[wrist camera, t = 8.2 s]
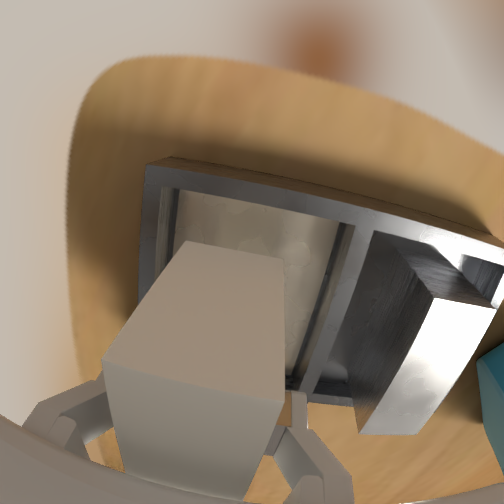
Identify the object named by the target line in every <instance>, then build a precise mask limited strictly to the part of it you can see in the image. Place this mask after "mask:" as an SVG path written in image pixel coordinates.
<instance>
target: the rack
mask: <svg viewBox="0 0 504 504" xmlns="http://www.w3.org/2000/svg"><path fill="white" fill-rule="evenodd" d="M185 241H191V242H197V243H202V244H207V245H212V246H217V247H222V248H228V249H233V250H238V251H243V252H248V253H254V254H259V255H264V256H269V257H274V258H279V259H283V264H284V319H285V390H290V391H298V392H305V393H306V396H307V404H308V402H313V403H321V404H330V405H340V406H350V407H354V411H355V416H356V422H357V428H358V433H359V434H370V435H416V434H417V433H418V432H419V431H420V429H421V428H422V427H423V426H424V424H425V423H426V422H427V420H428V419H429V418H430V417H431V415H432V414H433V413H435V411H436V410H437V409H438V407H439V406H440V404H441V403H442V402H443V400H444V399H445V397H446V396H447V395H448V393H449V392H450V390H451V389H452V387H453V386H454V384H455V383H456V381H457V380H458V378H459V377H460V375H461V374H462V372H463V371H464V369H465V367H466V366H467V364H468V362H469V361H470V359H471V358H472V356H473V354H474V353H475V351H476V349H477V347H478V346H479V344H480V342H481V340H482V339H483V337H484V335H485V333H486V331H487V329H488V328H489V326H490V324H491V322H492V320H493V318H494V316H495V314H496V312H497V310H498V308H499V306H500V304H501V302H502V300H503V297H504V243H503V242H502V241H501V240H499V239H498V238H496V237H495V236H493V235H490V234H488V233H485V232H482V231H479V230H476V229H473V228H470V227H467V226H464V225H461V224H458V223H455V222H452V221H449V220H446V219H442V218H439V217H436V216H433V215H430V214H426V213H423V212H420V211H416V210H413V209H409V208H406V207H402V206H399V205H395V204H392V203H388V202H385V201H381V200H377V199H373V198H370V197H366V196H362V195H358V194H354V193H350V192H346V191H342V190H338V189H334V188H330V187H326V186H322V185H317V184H313V183H309V182H304V181H300V180H295V179H290V178H286V177H281V176H276V175H271V174H267V173H262V172H256V171H251V170H246V169H241V168H235V167H230V166H224V165H219V164H213V163H207V162H201V161H195V160H188V159H182V158H175V157H167V158H164V159H161V160H158V161H155V162H152V163H149V164H146V170H145V180H144V190H143V201H142V214H141V229H140V247H139V273H138V305H139V303H140V302H141V301H142V299H143V298H144V296H145V295H146V294H147V292H148V291H149V289H150V288H151V287H152V285H153V284H154V283H155V281H156V280H157V278H158V277H159V276H160V274H161V273H162V272H163V270H164V269H165V267H166V266H167V265H168V263H169V262H170V261H171V259H172V258H173V257H174V255H175V254H176V253H177V251H178V250H179V249H180V247H181V246H182V245H183V243H184V242H185Z"/></svg>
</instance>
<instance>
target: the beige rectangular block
mask: <svg viewBox="0 0 504 504" xmlns="http://www.w3.org/2000/svg"><path fill="white" fill-rule="evenodd" d="M101 361H102V368H103V374H104V380H105V386H106V391H107V397H108V402H109V407H110V412H111V416H112V421H113V425H114V430H115V434H116V438H117V442H118V446H119V450H120V454H121V458H122V461H123V465H124V468H125V472H126V474H129V475H132V476H135V477H138V478H141V479H144V480H147V481H151V482H154V483H158V484H161V485H165V486H169V487H173V488H177V489H181V490H185V491H189V492H194V493H198V494H203V495H208V496H213V497H218V498H224V499H230V500H237V501H243V499H244V497H245V495H246V493H247V490H248V488H249V486H250V484H251V482H252V479H253V477H254V475H255V473H256V470H257V468H258V466H259V463H260V461H261V459H262V456H263V454H264V452H265V449H266V447H267V445H268V442H269V440H270V437H271V435H272V432H273V430H274V427H275V425H276V422H277V420H278V417H279V415H280V412H281V410H282V407H283V404H284V402H285V319H284V264H283V259H279V258H274V257H269V256H264V255H259V254H254V253H248V252H243V251H238V250H233V249H228V248H222V247H217V246H212V245H207V244H202V243H197V242H191V241H185V242H184V243H183V245H182V246H181V247H180V249H179V250H178V251H177V253H176V254H175V255H174V257H173V258H172V259H171V261H170V262H169V263H168V265H167V266H166V267H165V269H164V270H163V272H162V273H161V274H160V276H159V277H158V278H157V280H156V281H155V283H154V284H153V285H152V287H151V288H150V289H149V291H148V292H147V294H146V295H145V296H144V298H143V299H142V301H141V302H140V303H139V305H138V306H137V308H136V309H135V310H134V312H133V313H132V315H131V316H130V318H129V319H128V320H127V322H126V323H125V325H124V326H123V328H122V329H121V331H120V332H119V334H118V335H117V336H116V338H115V339H114V341H113V342H112V344H111V345H110V347H109V348H108V350H107V351H106V353H105V354H104V356H103V357H102V359H101Z"/></svg>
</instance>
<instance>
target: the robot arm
mask: <svg viewBox="0 0 504 504" xmlns="http://www.w3.org/2000/svg"><path fill="white" fill-rule="evenodd" d="M113 426H114V425H113V421H112V416H111V412H110V407H109V402H108V397H107V391H106V386H105V380H104V374H103V370H102V371H101V373H100V374H99V376H98V378H97V379H96V381H93V380H90V381H88V382H86V383H83V384H81V385H79V386H76V387H74V388H72V389H70V390H67V391H65V392H63V393H60V394H58V395H55V396H53V397H51V398H48V399H46V400H44V401H41V402H39V403H38V404H37V405H36V407H35V408H34V410H33V411H32V412H31V414H30V415H29V417H28V418H27V420H26V421H25V422H24V424H23V425H22V427H21V426H19V425H17V424H15V423H13V422H12V421H10V420H9V419H7V418H5V417H4V416H2V415H0V504H259V503H251V502H243V501H237V500H230V499H224V498H218V497H213V496H208V495H203V494H198V493H194V492H189V491H185V490H181V489H177V488H173V487H169V486H165V485H161V484H158V483H154V482H151V481H147V480H144V479H141V478H138V477H135V476H132V475H129V474H126V473H123V472H120V471H117V470H114V469H111V468H109V467H106V466H103V465H101V464H98V463H96V462H93V461H91V460H90V458H89V456H88V453H87V451H86V448H85V445H86V444H87V443H89V442H91V441H92V440H94V439H95V438H97V437H98V436H100V435H101V434H103V433H104V432H106V431H107V430H109V429H110V428H112V427H113ZM263 455H269V456H273V458H274V460H275V461H276V463H277V465H278V467H279V468H280V470H281V472H282V474H283V475H284V477H285V479H286V480H287V482H288V484H289V486H290V487H291V489H292V492H291V493H290V494H289V496H288V497H287V498H286V500H285V501H284V502H283V504H354V494H353V485H352V476H351V475H350V474H349V473H348V471H347V470H346V469H345V468H344V467H343V466H342V464H341V463H340V462H339V461H338V460H337V459H336V457H335V456H334V455H333V454H332V453H331V451H330V450H329V449H328V448H327V447H326V445H325V444H324V443H323V442H322V441H321V439H320V438H319V437H318V436H317V435H316V433H315V432H314V431H313V430H311V429H308V414H307V396H306V393H305V392H298V391H290V390H285V402H284V404H283V407H282V410H281V412H280V415H279V417H278V420H277V422H276V425H275V427H274V430H273V432H272V435H271V437H270V440H269V442H268V445H267V447H266V449H265V452H264V454H263ZM401 504H504V483H498V484H494V485H490V486H487V487H483V488H480V489H476V490H472V491H468V492H464V493H460V494H455V495H450V496H446V497H440V498H435V499H429V500H423V501H417V502H409V503H401Z"/></svg>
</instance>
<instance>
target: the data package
mask: <svg viewBox="0 0 504 504" xmlns="http://www.w3.org/2000/svg"><path fill="white" fill-rule="evenodd" d="M476 367H477V373H478V380H479V388H480V396H481V406H482V417H483V425H484V428H485V431H486V434H487V437H488V439H489V441H490V443H491V446H492V448H493V450H494V453H495V455H496V457H497V460H498V462H499V465H500V467H501V470H502V472H503V475H504V342H503V343H502V344H500V345H499V346H497V347H496V348H494V349H493V350H491V351H490V352H488V353H487V354H485V355H484V356H482V357H481V358H479V359H478V360H477V363H476Z"/></svg>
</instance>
